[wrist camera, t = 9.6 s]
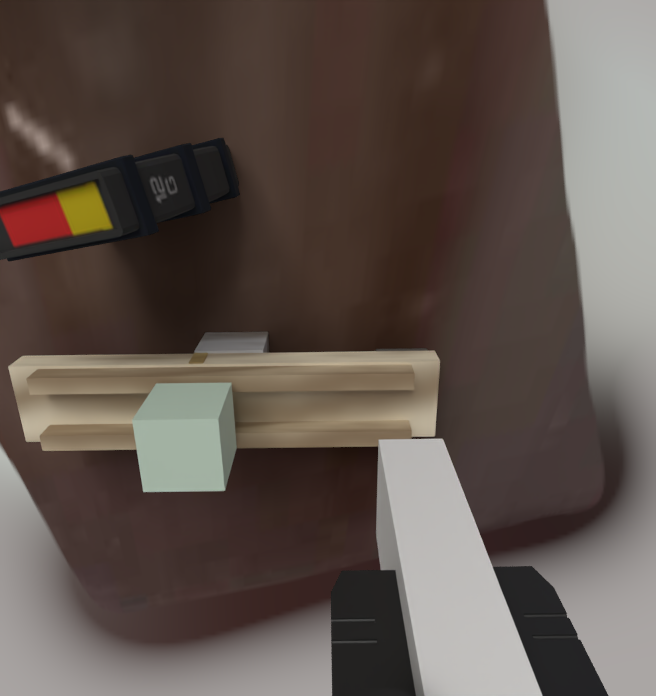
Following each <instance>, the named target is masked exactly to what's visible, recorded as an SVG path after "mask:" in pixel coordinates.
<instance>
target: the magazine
mask: <svg viewBox="0 0 656 696" xmlns="http://www.w3.org/2000/svg"><path fill="white" fill-rule="evenodd" d="M238 185H239V182H238V178H237V175H236V172H235V168H234V165H233V161H232V158H231V154H230V151H229V148H228V146H227V145H225V141H224V138H218V139H214V140H210V141H207V142H203V143H199V144H195V145H191V143H188V144H182V145H178V146H175V147H171V148H168V149H164V150H160V151H157V152H153V153H150V154H146V155H142V156H139V157H135V158H133V155H127V156H122V157H118V158H115V159H111V160H108V161H105V162H101V163H98V164H94V165H91V166H87V167H84V168H80V169H77V170H73V171H70V172H66V173H63V174H59V175H56V176H53V177H49V178H46V179H42V180H39V181H35V182H32V183H28V184H25V185H21V186H18V187H14V188H11V189H8V190H4V191H1V192H0V260H1V259H7V260H8V261H14V260H19V259H24V258H30V257H35V256H40V255H46V254H51V253H56V252H62V251H67V250H73V249H78V248H83V247H89V246H94V245H99V244H105V243H110V242H115V241H121V240H126V239H131V238H137V237H142V236H147V235H151V234H153V233H156V232H158V231H159V229H158V226H157V223H159V222H164V221H168V220H173V219H178V218H183V217H187V216H192V215H197V214H201V213H205V212H207V211H209V210H211V206H210V203H213V202H218V201H222V200H226V199H230V198H234V197H237V196H239V195H240V193H239V189H238Z"/></svg>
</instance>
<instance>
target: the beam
mask: <svg viewBox="0 0 656 696" xmlns="http://www.w3.org/2000/svg"><path fill="white" fill-rule="evenodd" d="M194 352H195V353H194V354H128V355H49V356H22V357H21V358H19V359H18V360H17V361H15V362H14V363H13V364H11V365H10V366H8V368H9V372H10V376H11V380H12V385H13V389H14V393H15V397H16V401H17V405H18V410H19V414H20V418H21V422H22V426H23V430H24V435H25V439H26V442H41V445H42V450H43V451H71V450H137V449H136V442H135V436H134V430H133V423H132V419H133V418H134V416H135V415H136V413H137V412H138V410H139V409H140V407H141V406H142V404H143V403H144V401H145V400H146V398H147V397H148V395H149V394H150V392H151V391H152V389H153V387H154V386H155V384H156V383H232V395H233V408H234V420H235V432H236V445H237V448H297V447H372V446H378V443H379V440H383V439H411V438H412V437H433V436H435V428H436V414H437V399H438V384H439V370H440V360H439V358H438V356H437V354H436V352H435V351H428V350H427V348H417V349H376V351H366V352H286V353H269V336H268V332H205V334H204V336H203V337H202V339H201V341H200V342H199V344H198V346H197V348H196V349H195V351H194Z"/></svg>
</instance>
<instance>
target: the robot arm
mask: <svg viewBox="0 0 656 696" xmlns="http://www.w3.org/2000/svg"><path fill="white" fill-rule="evenodd" d="M376 537H377V545H378V552H379V560H380V567H381V570H360V571H341V573H340V575H339V577H338V579H337V581H336V584H335V586H334V587H333V589H332V591H331V637H332V640H331V641H332V642H331V643H332V696H608V694H607V692H606V690H605V688H604V686H603V684H602V682H601V680H600V678H599V676H598V674H597V672H596V671H595V668H594V666H593V664H592V662H591V660H590V658H589V656H588V655H587V652H586V651H585V648H584V646H583V644H582V642H581V641H580V640H578V637H577V633H576V631H575V629H574V627H573V625H572V623H571V621H570V619H569V618H567V615H566V614H567V613H566V611H565V609H564V607H563V605H562V603H561V601H560V599H559V597H558V595H557V593H556V591H555V589H554V588H553V586H552V585H550V583H549V582H547V581H546V580H545V579H544V578H543V577H542V576H541V575H540V574H539V573H538V572H537V571H536V570H535V569H534V568H533V567H532V566H521V567H492V565H491V562H490V559H489V557H488V554H487V552H486V549H485V546H484V544H483V541H482V539H481V536H480V534H479V531H478V528H477V526H476V523H475V521H474V518H473V515H472V513H471V510H470V508H469V505H468V503H467V500H466V497H465V495H464V492H463V490H462V487H461V485H460V482H459V479H458V477H457V474H456V472H455V469H454V467H453V464H452V461H451V459H450V456H449V454H448V451H447V449H446V446H445V443H444V441H443V439H383V440H379V443H378V481H377V519H376Z"/></svg>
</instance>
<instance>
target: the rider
mask: <svg viewBox="0 0 656 696" xmlns="http://www.w3.org/2000/svg"><path fill="white" fill-rule="evenodd" d="M132 423H133V430H134V436H135V442H136V449H137V455H138V461H139V468H140V474H141V480H142V487H143V492H184V491H225V489H226V485H227V481H228V478H229V474H230V470H231V467H232V463H233V459H234V456H235V452H236V449H237V445H236V432H235V420H234V408H233V395H232V383H156V384H155V386H154V387H153V389H152V391H151V392H150V394H149V395H148V397H147V398H146V400H145V401H144V403H143V404H142V406H141V407H140V409H139V410H138V412H137V413H136V415H135V416H134V418H133V419H132Z"/></svg>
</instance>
